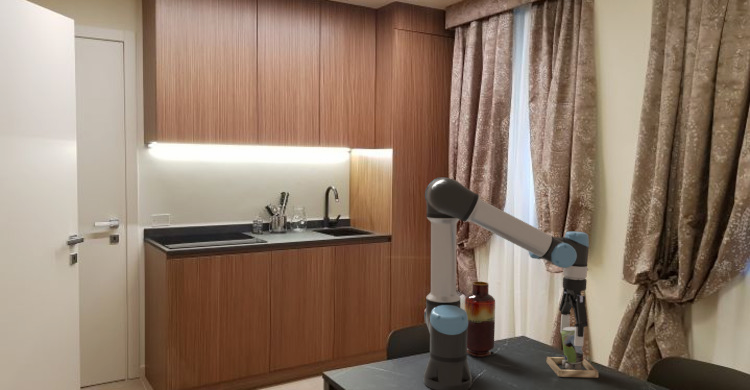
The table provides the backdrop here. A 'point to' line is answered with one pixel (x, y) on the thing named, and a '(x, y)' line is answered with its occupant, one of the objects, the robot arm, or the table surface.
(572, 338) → the beverage can
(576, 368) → the peg frame
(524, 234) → the robot arm
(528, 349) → the table surface
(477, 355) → the vase
